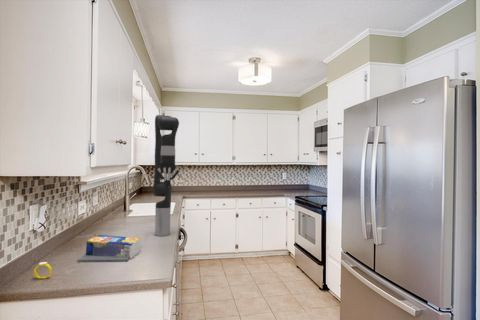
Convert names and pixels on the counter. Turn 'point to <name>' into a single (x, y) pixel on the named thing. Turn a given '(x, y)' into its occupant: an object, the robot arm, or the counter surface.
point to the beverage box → (113, 246)
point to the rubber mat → (102, 258)
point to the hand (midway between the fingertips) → (167, 187)
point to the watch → (42, 265)
